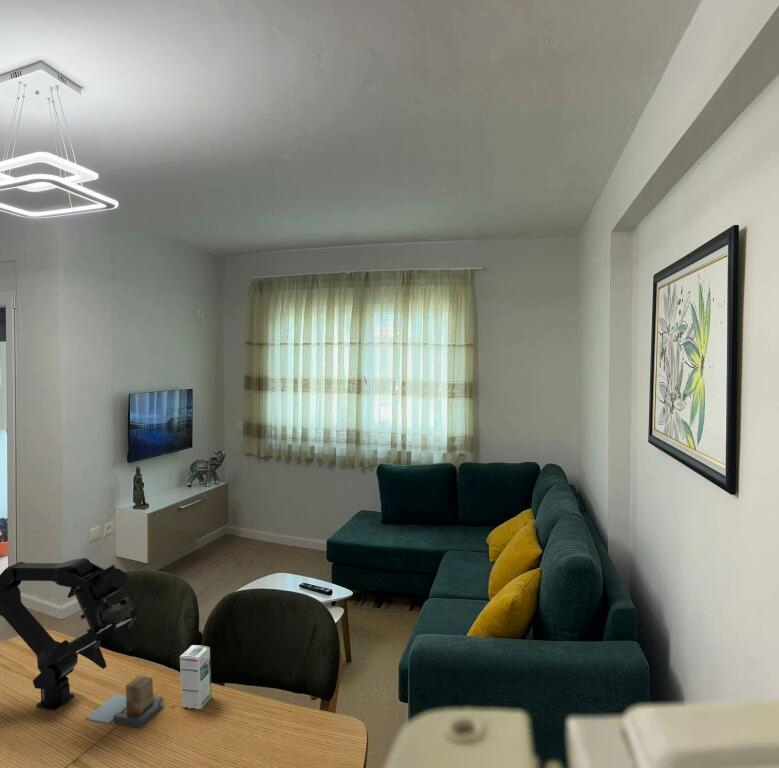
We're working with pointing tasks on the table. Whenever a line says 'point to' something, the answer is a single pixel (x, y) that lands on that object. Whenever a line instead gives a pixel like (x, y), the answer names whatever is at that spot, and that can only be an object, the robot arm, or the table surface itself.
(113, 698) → the mat
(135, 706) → the walnut block
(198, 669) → the syrup box
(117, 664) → the table surface
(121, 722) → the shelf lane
